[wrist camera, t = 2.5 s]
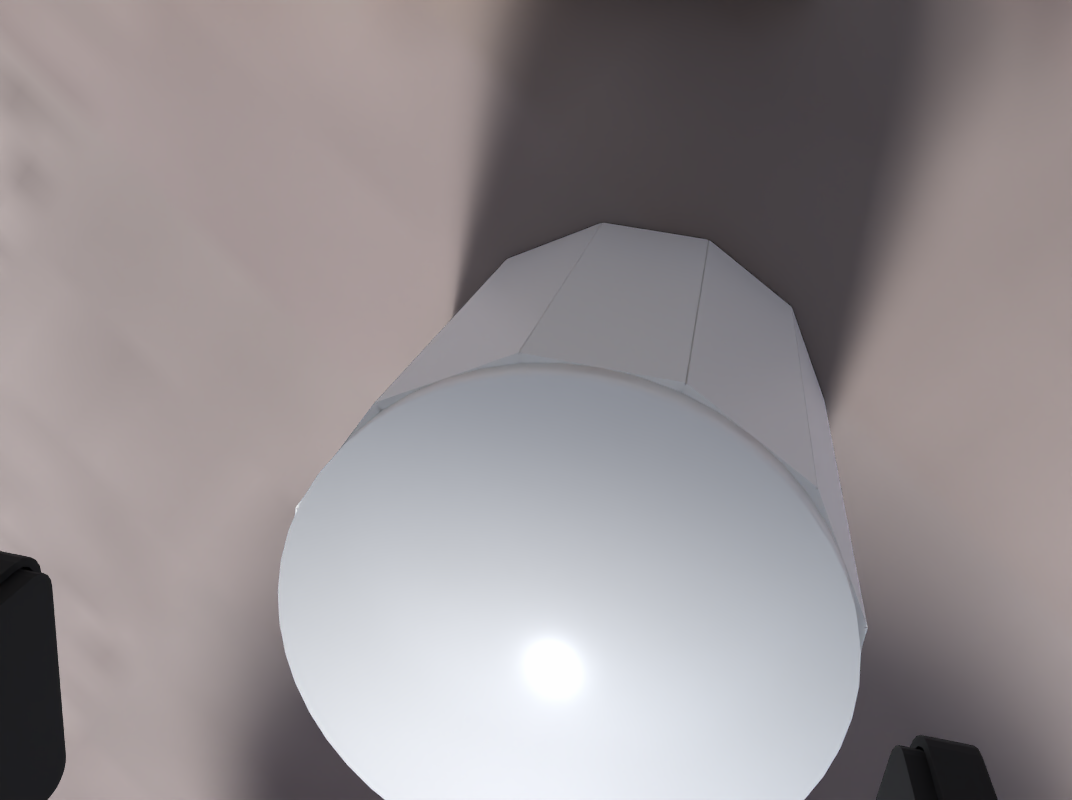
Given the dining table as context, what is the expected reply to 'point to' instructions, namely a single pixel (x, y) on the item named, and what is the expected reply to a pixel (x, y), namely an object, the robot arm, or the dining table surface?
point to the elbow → (586, 545)
